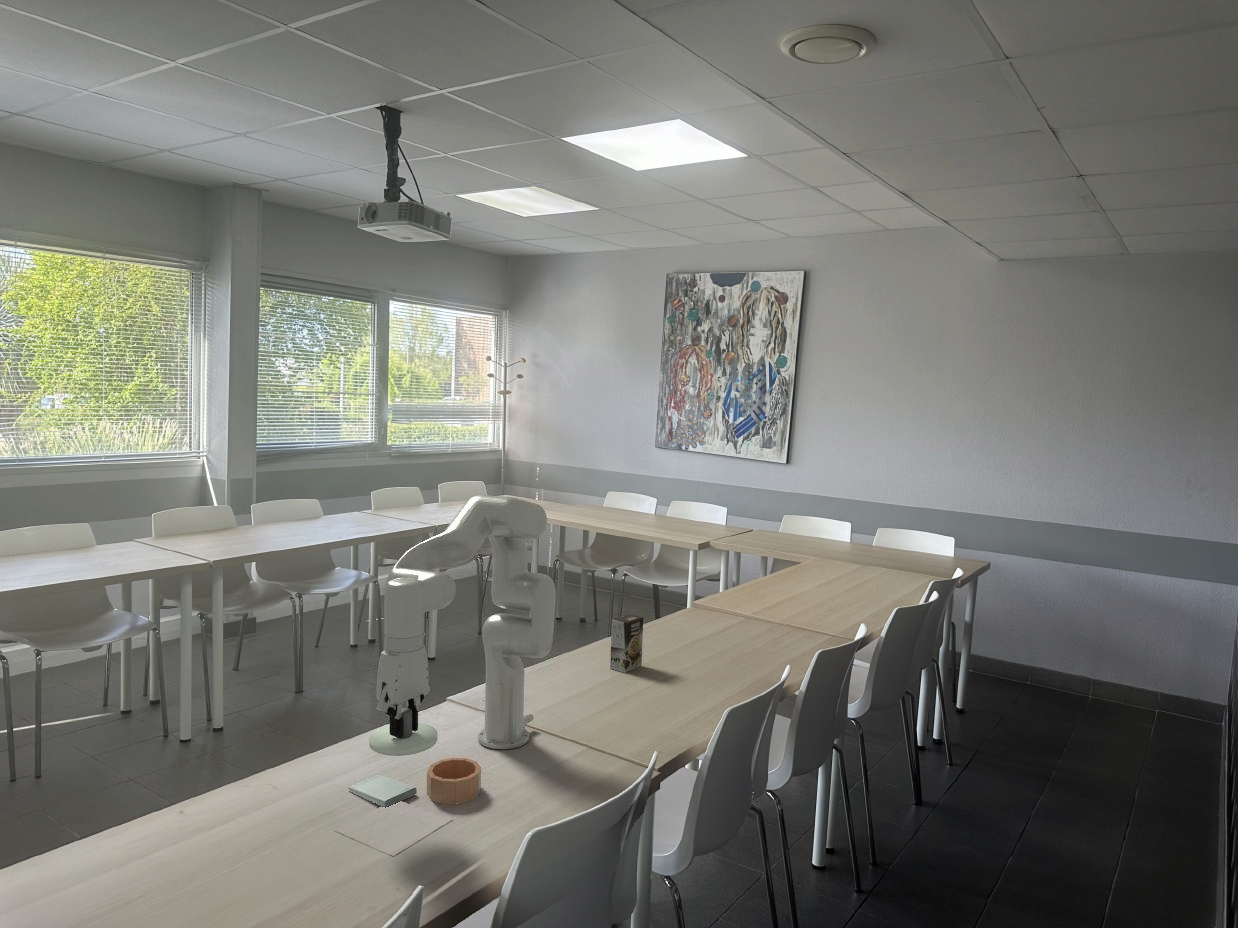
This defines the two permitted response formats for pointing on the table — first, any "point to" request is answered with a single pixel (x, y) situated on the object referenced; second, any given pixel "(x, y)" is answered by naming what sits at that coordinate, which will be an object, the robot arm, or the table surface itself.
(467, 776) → the bowl
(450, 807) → the table surface
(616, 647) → the coffee box
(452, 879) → the table surface
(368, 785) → the hard drive
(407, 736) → the lid
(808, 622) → the table surface
